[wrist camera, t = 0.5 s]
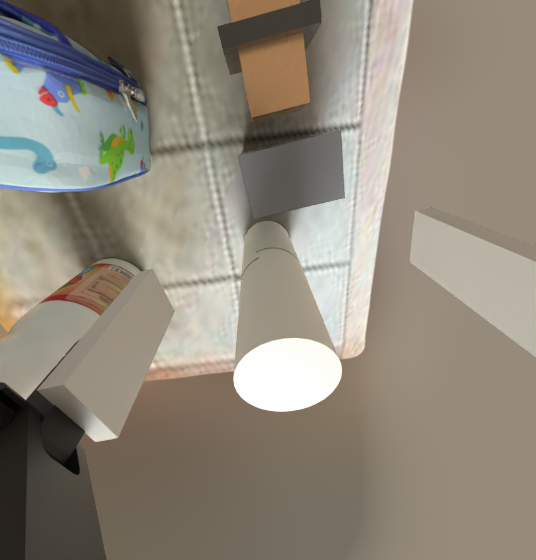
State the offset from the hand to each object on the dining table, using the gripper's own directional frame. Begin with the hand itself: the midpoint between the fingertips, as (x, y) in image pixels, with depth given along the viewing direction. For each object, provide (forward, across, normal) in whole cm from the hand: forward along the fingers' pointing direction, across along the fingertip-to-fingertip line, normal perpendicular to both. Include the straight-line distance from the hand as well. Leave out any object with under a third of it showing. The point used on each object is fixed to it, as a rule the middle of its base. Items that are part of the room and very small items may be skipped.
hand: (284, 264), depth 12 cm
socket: (+24, +3, +2) cm, 25 cm away
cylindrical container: (+25, -1, -8) cm, 26 cm away
